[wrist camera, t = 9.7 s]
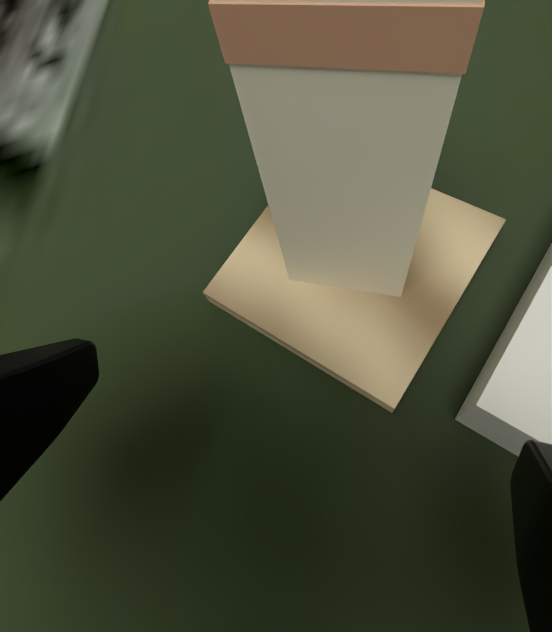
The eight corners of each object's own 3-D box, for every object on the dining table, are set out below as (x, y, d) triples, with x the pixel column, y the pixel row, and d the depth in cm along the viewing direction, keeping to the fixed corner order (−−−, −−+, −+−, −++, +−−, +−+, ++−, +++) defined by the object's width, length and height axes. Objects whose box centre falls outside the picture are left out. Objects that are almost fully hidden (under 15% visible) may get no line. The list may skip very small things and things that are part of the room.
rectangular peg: (402, 298, 17) (507, -76, 6) (288, 280, 18) (187, -68, 7) (412, 230, 18) (520, -204, 7) (304, 217, 19) (239, -181, 8)
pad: (392, 413, 17) (394, 408, 16) (209, 301, 20) (202, 292, 19) (498, 232, 19) (505, 219, 18) (318, 155, 22) (316, 140, 21)
